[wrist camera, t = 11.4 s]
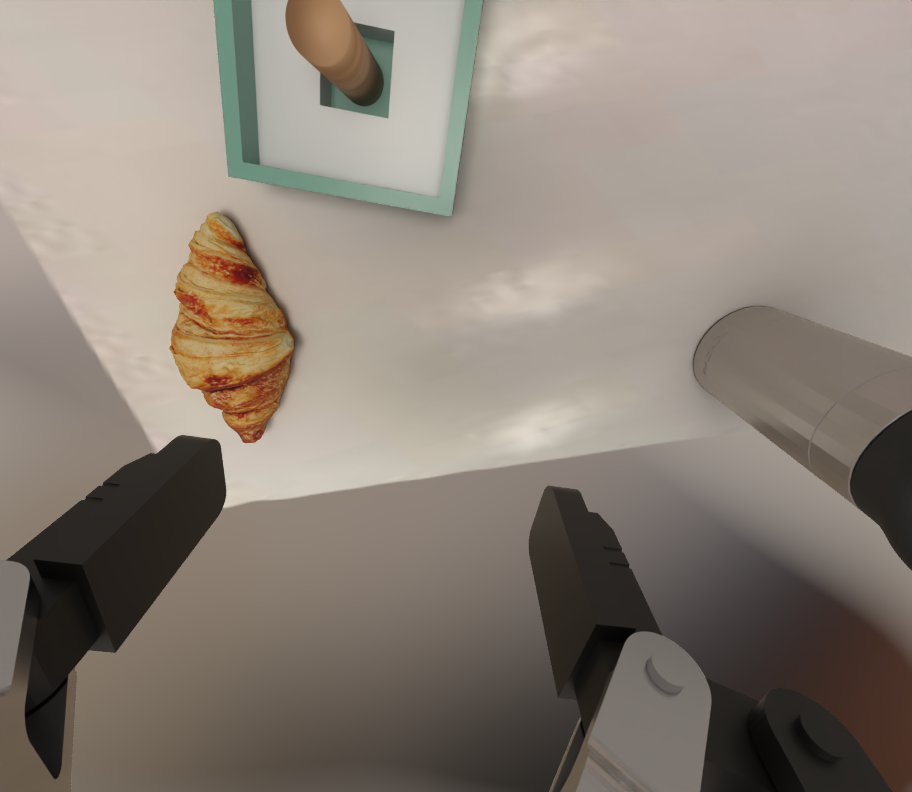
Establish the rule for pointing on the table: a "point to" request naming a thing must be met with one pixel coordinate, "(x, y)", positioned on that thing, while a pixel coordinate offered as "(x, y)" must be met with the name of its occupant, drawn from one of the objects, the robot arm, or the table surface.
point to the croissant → (230, 330)
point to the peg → (335, 48)
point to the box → (339, 119)
